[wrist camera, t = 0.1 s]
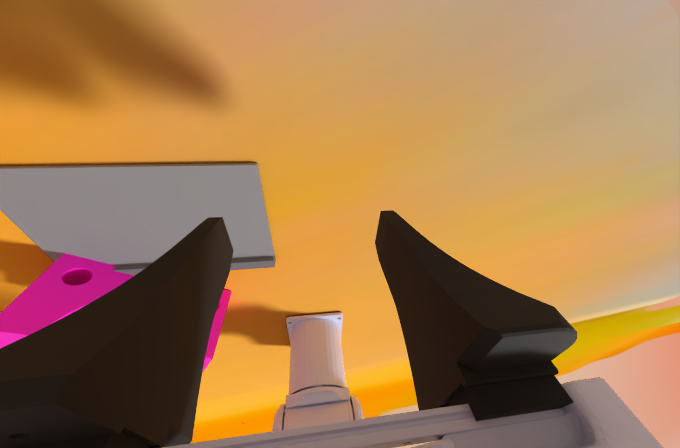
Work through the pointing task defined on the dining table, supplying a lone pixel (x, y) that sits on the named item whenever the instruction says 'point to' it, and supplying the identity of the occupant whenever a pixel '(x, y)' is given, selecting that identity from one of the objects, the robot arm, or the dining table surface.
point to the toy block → (75, 299)
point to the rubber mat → (136, 210)
